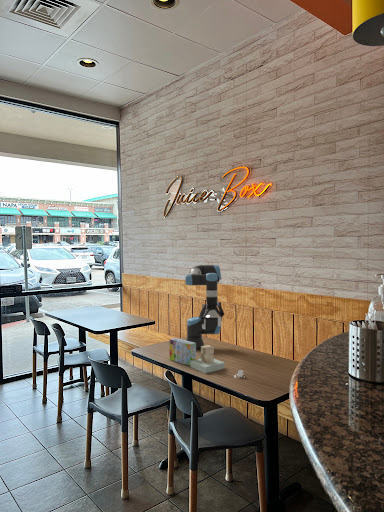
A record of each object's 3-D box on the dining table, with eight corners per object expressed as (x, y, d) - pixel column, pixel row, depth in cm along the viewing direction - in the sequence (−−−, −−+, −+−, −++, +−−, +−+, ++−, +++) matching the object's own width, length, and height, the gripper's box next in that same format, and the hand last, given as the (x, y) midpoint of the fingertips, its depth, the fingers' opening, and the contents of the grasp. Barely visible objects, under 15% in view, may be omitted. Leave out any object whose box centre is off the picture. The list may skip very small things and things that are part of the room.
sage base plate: (190, 366, 263) (190, 360, 263) (209, 362, 272) (209, 356, 272) (205, 373, 250) (205, 367, 250) (224, 368, 259) (224, 362, 259)
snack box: (196, 364, 268) (196, 342, 267) (190, 366, 264) (190, 344, 263) (174, 358, 282) (174, 337, 281) (168, 359, 278) (168, 338, 277)
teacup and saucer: (239, 373, 250) (239, 367, 250) (249, 376, 245) (249, 370, 245) (231, 377, 244) (231, 371, 243) (242, 380, 238) (242, 374, 238)
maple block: (201, 361, 261) (201, 346, 261) (208, 359, 265) (208, 345, 265) (206, 363, 257) (206, 348, 256) (213, 362, 260) (213, 347, 260)
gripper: (200, 298, 254) (200, 331, 256) (229, 295, 269) (229, 325, 270) (193, 297, 260) (193, 328, 262) (222, 293, 275) (222, 323, 276)
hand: (211, 327), depth 266 cm, fingers open, 13 cm apart
